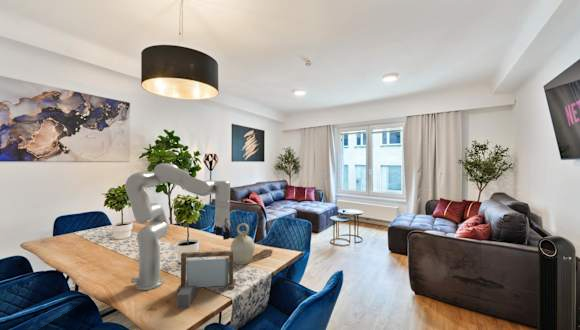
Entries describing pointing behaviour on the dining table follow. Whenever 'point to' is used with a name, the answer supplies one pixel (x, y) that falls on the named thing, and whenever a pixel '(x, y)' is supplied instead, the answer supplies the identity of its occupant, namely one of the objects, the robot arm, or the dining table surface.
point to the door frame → (206, 254)
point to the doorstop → (186, 296)
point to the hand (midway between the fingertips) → (222, 236)
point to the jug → (242, 247)
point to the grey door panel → (208, 272)
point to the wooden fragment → (262, 255)
